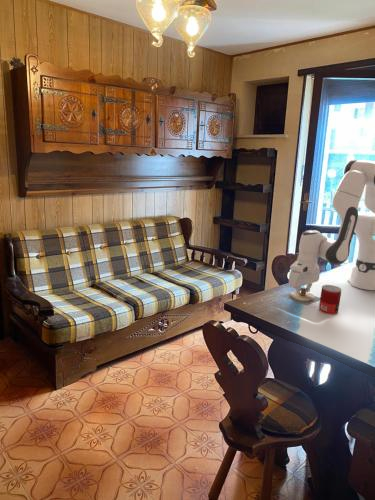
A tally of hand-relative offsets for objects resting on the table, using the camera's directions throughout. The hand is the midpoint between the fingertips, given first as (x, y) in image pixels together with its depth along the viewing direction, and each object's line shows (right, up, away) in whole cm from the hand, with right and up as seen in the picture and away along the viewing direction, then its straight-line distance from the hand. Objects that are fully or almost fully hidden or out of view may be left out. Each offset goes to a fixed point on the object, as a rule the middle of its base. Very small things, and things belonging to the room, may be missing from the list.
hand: (302, 293), depth 183 cm
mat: (0, -2, +1) cm, 3 cm away
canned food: (+7, -7, -14) cm, 17 cm away
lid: (0, -2, +1) cm, 2 cm away
